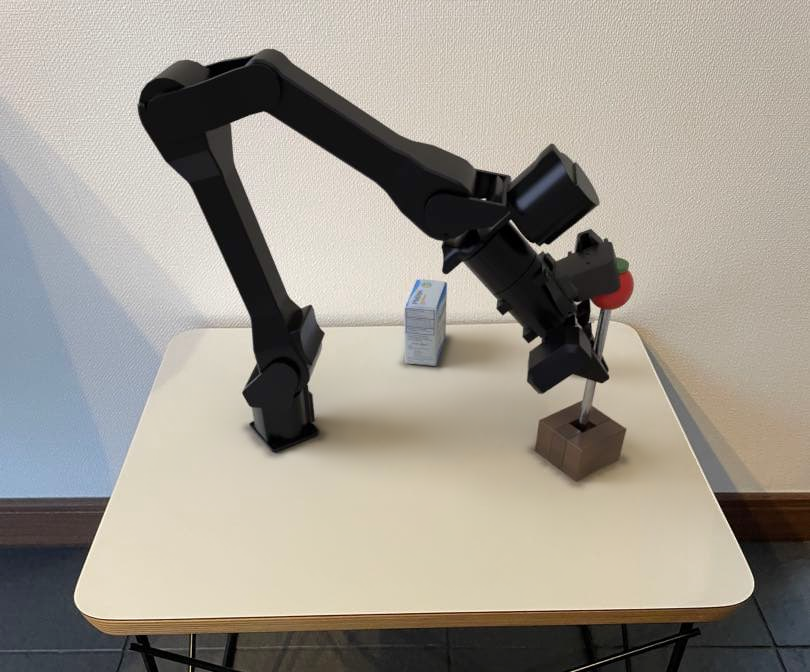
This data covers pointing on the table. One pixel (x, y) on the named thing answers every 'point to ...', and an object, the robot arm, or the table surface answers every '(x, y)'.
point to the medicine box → (425, 322)
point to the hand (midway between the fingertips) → (605, 376)
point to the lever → (605, 329)
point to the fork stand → (579, 441)
